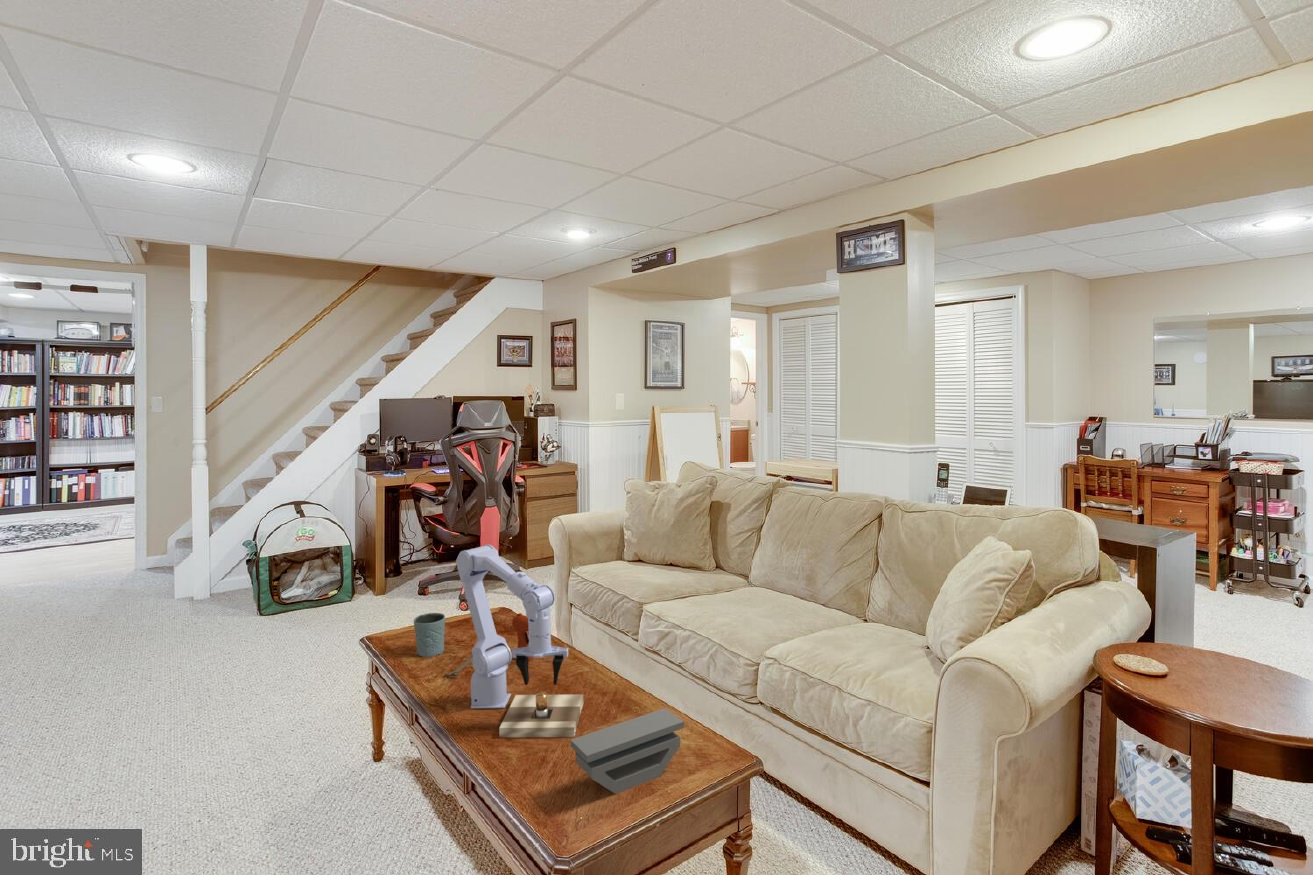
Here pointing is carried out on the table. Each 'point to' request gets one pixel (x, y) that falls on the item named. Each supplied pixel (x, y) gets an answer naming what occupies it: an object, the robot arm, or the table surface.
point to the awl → (541, 705)
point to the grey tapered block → (629, 750)
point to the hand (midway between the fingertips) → (541, 683)
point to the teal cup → (429, 634)
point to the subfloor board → (525, 724)
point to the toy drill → (521, 631)
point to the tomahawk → (459, 668)
